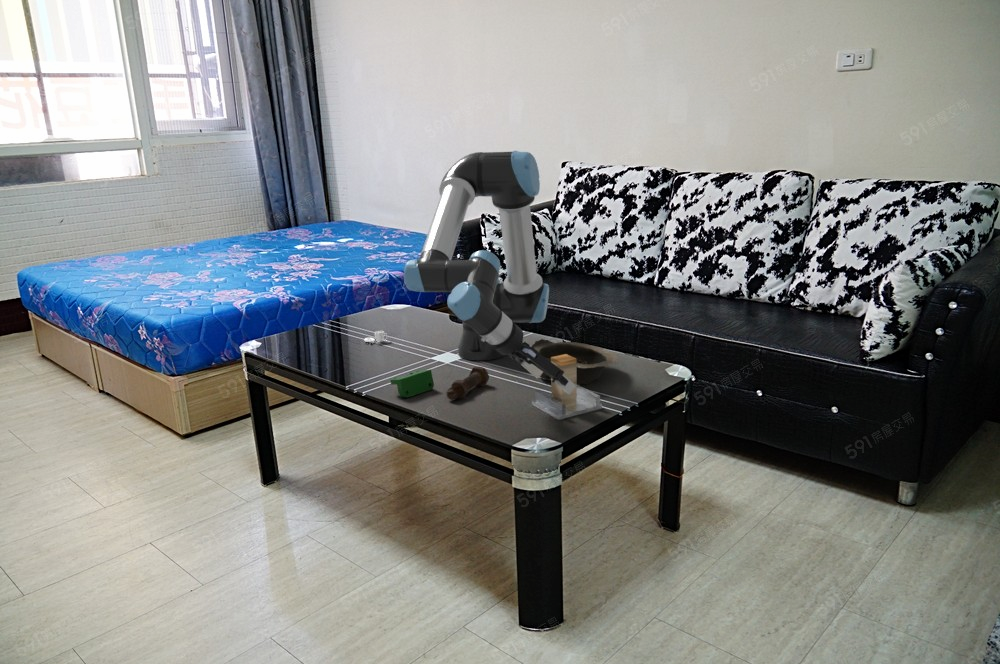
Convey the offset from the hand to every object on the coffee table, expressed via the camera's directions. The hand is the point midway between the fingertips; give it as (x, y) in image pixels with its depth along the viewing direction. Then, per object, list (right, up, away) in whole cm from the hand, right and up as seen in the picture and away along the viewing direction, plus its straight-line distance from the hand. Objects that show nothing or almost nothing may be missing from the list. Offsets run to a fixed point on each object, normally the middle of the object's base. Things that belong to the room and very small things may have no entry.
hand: (555, 381), depth 184 cm
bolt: (-23, -4, +16) cm, 28 cm away
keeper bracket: (+2, -7, +4) cm, 8 cm away
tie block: (+2, -6, +3) cm, 7 cm away
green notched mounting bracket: (-37, -4, +18) cm, 42 cm away
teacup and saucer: (-55, +9, +67) cm, 87 cm away
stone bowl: (+7, 0, +26) cm, 27 cm away
